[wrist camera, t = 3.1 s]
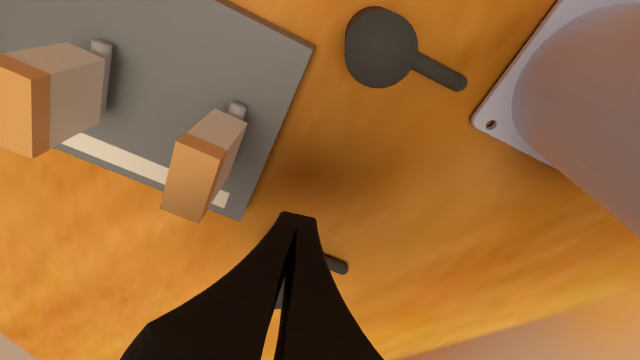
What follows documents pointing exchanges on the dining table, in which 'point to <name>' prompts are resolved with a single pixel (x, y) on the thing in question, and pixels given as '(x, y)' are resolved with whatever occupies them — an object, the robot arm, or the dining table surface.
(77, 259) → the dining table surface
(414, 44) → the dark cylinders with handles
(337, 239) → the dining table surface
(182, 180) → the tan rectangular block
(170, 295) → the dining table surface
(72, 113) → the orange and brown block
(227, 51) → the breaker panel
